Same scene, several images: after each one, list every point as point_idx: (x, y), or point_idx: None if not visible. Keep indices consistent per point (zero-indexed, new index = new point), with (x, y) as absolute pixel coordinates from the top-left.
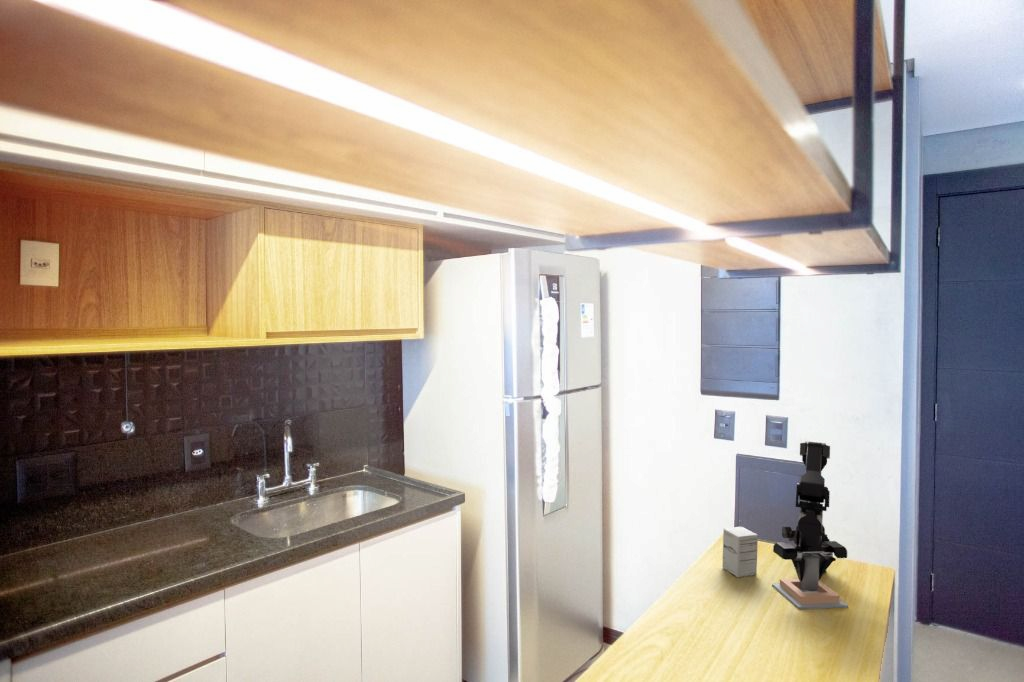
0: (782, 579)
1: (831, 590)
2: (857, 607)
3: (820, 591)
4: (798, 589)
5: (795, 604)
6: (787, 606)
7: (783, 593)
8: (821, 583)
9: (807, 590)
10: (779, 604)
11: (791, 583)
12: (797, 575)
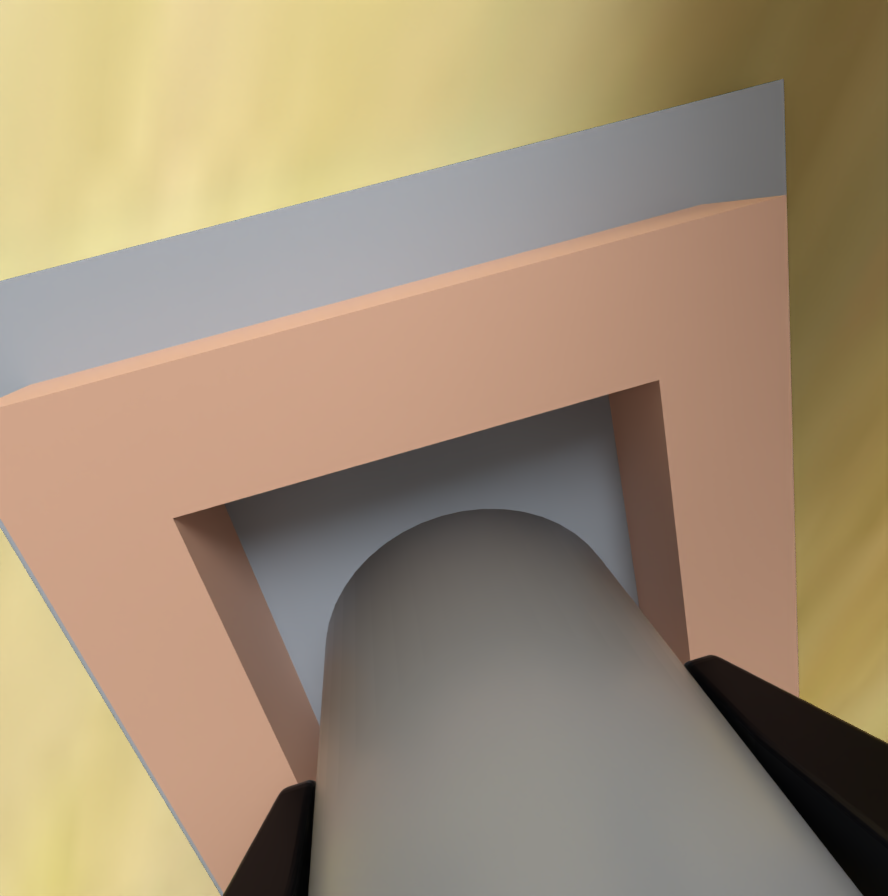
0: (9, 437)
1: (777, 666)
2: (875, 684)
3: (641, 538)
4: (272, 774)
5: (208, 868)
6: (117, 870)
7: (78, 651)
8: (756, 453)
9: (476, 470)
10: (21, 857)
11: (187, 589)
12: (237, 884)
